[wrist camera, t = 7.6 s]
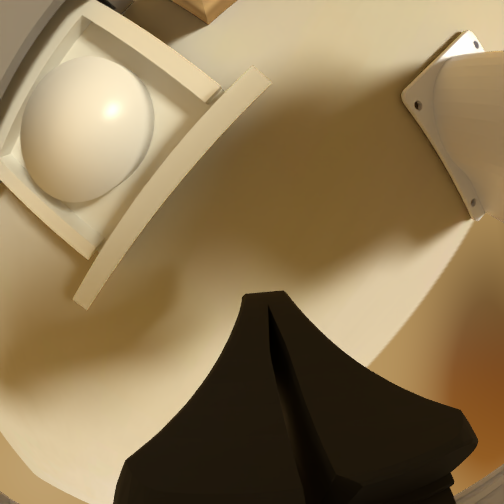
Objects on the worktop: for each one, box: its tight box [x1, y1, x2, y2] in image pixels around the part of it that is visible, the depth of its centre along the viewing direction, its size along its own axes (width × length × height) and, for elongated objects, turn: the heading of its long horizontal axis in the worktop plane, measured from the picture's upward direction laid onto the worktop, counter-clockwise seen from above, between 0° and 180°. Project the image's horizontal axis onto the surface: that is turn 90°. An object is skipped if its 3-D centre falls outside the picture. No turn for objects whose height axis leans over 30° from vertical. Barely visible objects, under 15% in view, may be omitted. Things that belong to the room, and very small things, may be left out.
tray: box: [0, 0, 273, 311], centre depth 9 cm, size 10×11×4 cm
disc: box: [20, 56, 154, 202], centre depth 9 cm, size 6×6×2 cm
